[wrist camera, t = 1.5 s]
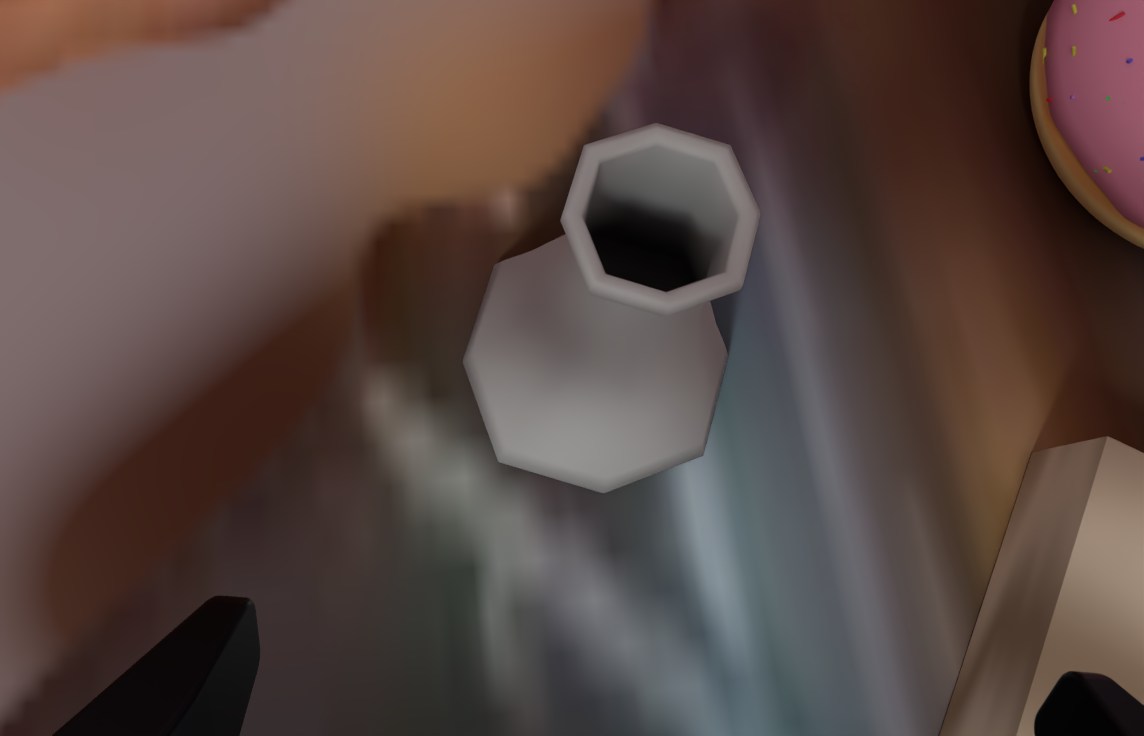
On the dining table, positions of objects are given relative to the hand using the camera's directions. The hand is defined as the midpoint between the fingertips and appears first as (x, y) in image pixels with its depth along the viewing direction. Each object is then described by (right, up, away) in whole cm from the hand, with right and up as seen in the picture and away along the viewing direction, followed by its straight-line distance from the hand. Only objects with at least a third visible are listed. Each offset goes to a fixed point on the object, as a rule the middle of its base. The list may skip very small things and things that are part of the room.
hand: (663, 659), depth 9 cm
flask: (0, +3, +14) cm, 14 cm away
